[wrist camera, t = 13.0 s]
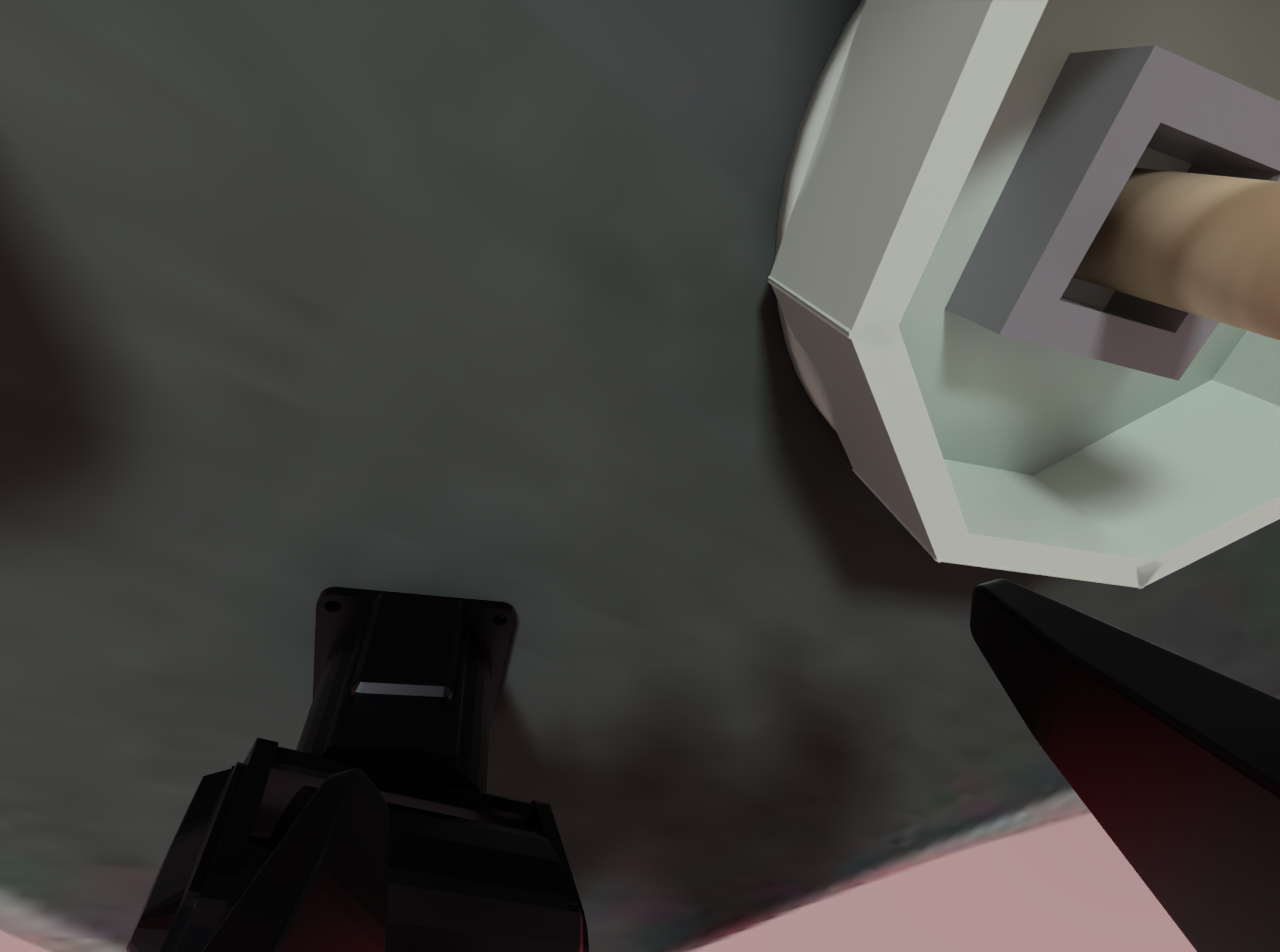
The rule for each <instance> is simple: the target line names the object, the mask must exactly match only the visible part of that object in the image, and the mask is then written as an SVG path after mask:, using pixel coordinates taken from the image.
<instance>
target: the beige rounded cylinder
mask: <svg viewBox="0 0 1280 952" xmlns="http://www.w3.org/2000/svg"><path fill="white" fill-rule="evenodd" d="M1073 278H1076V279H1080V280H1083V281H1086V282H1089V283H1093V284H1096V285H1099V286H1102V287H1106V288H1109V289H1112V290H1116V291H1119V292H1122V293H1125V294H1129V295H1132V296H1135V297H1139V298H1142V299H1145V300H1148V301H1152V302H1155V303H1158V304H1162V305H1165V306H1168V307H1171V308H1175V309H1178V310H1181V311H1184V312H1188V313H1191V314H1194V315H1198V316H1201V317H1204V318H1207V319H1211V320H1214V321H1217V322H1221V323H1224V324H1227V325H1230V326H1234V327H1237V328H1240V329H1243V330H1247V331H1250V332H1253V333H1257V334H1260V335H1263V336H1266V337H1270V338H1273V339H1276V340H1280V182H1279V181H1268V180H1258V179H1248V178H1237V177H1227V176H1217V175H1207V174H1196V173H1186V172H1176V171H1165V170H1155V169H1145V168H1134V170H1133V172H1132V173H1131V175H1130V177H1129V179H1128V181H1127V182H1126V184H1125V186H1124V188H1123V189H1122V191H1121V193H1120V195H1119V196H1118V198H1117V200H1116V202H1115V203H1114V205H1113V207H1112V209H1111V210H1110V212H1109V214H1108V216H1107V217H1106V219H1105V221H1104V223H1103V224H1102V226H1101V228H1100V230H1099V231H1098V233H1097V235H1096V237H1095V238H1094V240H1093V242H1092V244H1091V245H1090V247H1089V249H1088V251H1087V253H1086V254H1085V256H1084V258H1083V260H1082V261H1081V263H1080V265H1079V267H1078V268H1077V270H1076V272H1075V274H1074V275H1073Z"/></svg>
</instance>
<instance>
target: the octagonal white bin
mask: <svg viewBox="0 0 1280 952" xmlns="http://www.w3.org/2000/svg"><path fill="white" fill-rule="evenodd" d="M1134 168H1145V169H1155V170H1165V171H1176V172H1186V173H1196V174H1207V175H1217V176H1227V177H1237V178H1248V179H1258V180H1268V181H1279V182H1280V0H862V1H861V2H860V4H859V5H858V7H857V8H856V10H855V11H854V13H853V15H852V16H851V18H850V19H849V21H848V22H847V24H846V25H845V27H844V29H843V31H842V33H841V35H840V37H839V39H838V41H837V42H836V44H835V46H834V48H833V50H832V52H831V54H830V56H829V58H828V60H827V62H826V64H825V66H824V67H823V69H822V71H821V73H820V75H819V77H818V80H817V82H816V85H815V87H814V90H813V92H812V95H811V97H810V100H809V102H808V105H807V107H806V110H805V113H804V115H803V118H802V120H801V123H800V125H799V128H798V131H797V135H796V138H795V142H794V146H793V149H792V153H791V156H790V160H789V163H788V167H787V171H786V174H785V178H784V184H783V190H782V196H781V202H780V208H779V215H778V221H777V233H776V254H775V262H774V265H773V268H772V271H771V274H770V276H768V282H769V283H770V284H771V286H772V288H773V290H774V292H775V295H776V297H777V303H778V311H779V315H780V320H781V325H782V330H783V334H784V339H785V344H786V346H787V349H788V352H789V355H790V357H791V360H792V363H793V365H794V368H795V371H796V373H797V376H798V378H799V380H800V381H801V383H802V385H803V387H804V389H805V390H806V392H807V394H808V396H809V397H810V399H811V401H812V403H813V404H814V405H815V407H816V408H817V409H818V410H819V412H820V413H821V414H822V415H823V417H824V418H825V419H826V421H827V422H828V423H829V424H830V426H831V427H832V428H833V429H834V430H835V431H836V432H837V434H838V436H839V438H840V440H841V443H842V445H843V447H844V449H845V452H846V454H847V456H848V458H849V461H850V463H851V465H852V467H853V469H852V471H853V472H854V473H855V474H856V475H857V476H858V477H859V478H860V479H861V480H862V481H863V483H864V484H865V485H866V486H867V487H868V488H869V489H870V490H871V491H872V492H873V493H874V495H875V496H876V497H877V498H878V499H879V500H880V501H881V502H882V503H883V504H884V505H885V506H886V508H887V509H888V510H889V511H890V512H891V513H892V514H893V515H894V516H895V517H896V518H897V520H898V521H899V522H900V523H901V524H902V525H903V526H904V527H905V528H906V529H907V530H908V531H909V533H910V534H911V535H912V536H913V537H914V538H915V539H916V540H917V541H918V542H919V543H920V544H921V546H922V547H923V548H924V549H925V550H926V551H927V552H928V553H929V554H930V555H931V556H932V558H933V559H934V560H935V561H937V562H938V563H940V562H946V563H954V564H961V565H969V566H976V567H984V568H992V569H999V570H1007V571H1015V572H1022V573H1030V574H1037V575H1045V576H1053V577H1060V578H1068V579H1075V580H1083V581H1091V582H1098V583H1106V584H1114V585H1121V586H1129V587H1136V588H1138V589H1140V588H1144V586H1146V585H1148V584H1150V583H1152V582H1154V581H1156V580H1158V579H1160V578H1162V577H1164V576H1166V575H1168V574H1170V573H1172V572H1174V571H1176V570H1178V569H1180V568H1182V567H1184V566H1186V565H1188V564H1190V563H1192V562H1194V561H1196V560H1198V559H1200V558H1202V557H1204V556H1206V555H1208V554H1210V553H1212V552H1214V551H1216V550H1218V549H1220V548H1222V547H1224V546H1226V545H1228V544H1230V543H1232V542H1234V541H1236V540H1238V539H1240V538H1242V537H1244V536H1246V535H1248V534H1250V533H1252V532H1254V531H1256V530H1258V529H1260V528H1262V527H1264V526H1266V525H1268V524H1270V523H1272V522H1274V521H1276V520H1278V519H1280V340H1276V339H1273V338H1270V337H1266V336H1263V335H1260V334H1257V333H1253V332H1250V331H1247V330H1243V329H1240V328H1237V327H1234V326H1230V325H1227V324H1224V323H1221V322H1217V321H1214V320H1211V319H1207V318H1204V317H1201V316H1198V315H1194V314H1191V313H1188V312H1184V311H1181V310H1178V309H1175V308H1171V307H1168V306H1165V305H1162V304H1158V303H1155V302H1152V301H1148V300H1145V299H1142V298H1139V297H1135V296H1132V295H1129V294H1125V293H1122V292H1119V291H1116V290H1112V289H1109V288H1106V287H1102V286H1099V285H1096V284H1093V283H1089V282H1086V281H1083V280H1080V279H1076V278H1073V275H1074V274H1075V272H1076V270H1077V268H1078V267H1079V265H1080V263H1081V261H1082V260H1083V258H1084V256H1085V254H1086V253H1087V251H1088V249H1089V247H1090V245H1091V244H1092V242H1093V240H1094V238H1095V237H1096V235H1097V233H1098V231H1099V230H1100V228H1101V226H1102V224H1103V223H1104V221H1105V219H1106V217H1107V216H1108V214H1109V212H1110V210H1111V209H1112V207H1113V205H1114V203H1115V202H1116V200H1117V198H1118V196H1119V195H1120V193H1121V191H1122V189H1123V188H1124V186H1125V184H1126V182H1127V181H1128V179H1129V177H1130V175H1131V173H1132V172H1133V170H1134Z"/></svg>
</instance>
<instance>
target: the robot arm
mask: <svg viewBox="0 0 1280 952" xmlns="http://www.w3.org/2000/svg"><path fill="white" fill-rule="evenodd" d="M329 601H337V602H338V603H339V604H332V603H330V602H329ZM496 615H504V617H502V618H498V617H495V616H496ZM513 623H514V609H513V607H512V606H511V605H509V604H508V603H505V602H498V601H487V600H475V599H464V598H453V597H442V596H431V595H420V594H409V593H397V592H386V591H375V590H364V589H353V588H342V587H330V588H327V589H324V590H323V591H322V592H321V594H320V596H319V599H318V601H317V604H316V627H315V655H314V682H313V702H312V705H311V708H310V711H309V714H308V717H307V720H306V723H305V725H304V728H303V731H302V734H301V737H300V740H299V743H298V746H297V749H296V750H292V749H288V748H283V747H279V746H278V743H279V742H274V741H270V740H265V739H261V738H257V739H256V741H255V743H254V745H253V746H252V748H251V750H250V752H249V754H248V756H247V757H246V759H245V761H244V763H239V762H237V764H236V765H235V766H232V768H231V769H228V770H225V771H221V772H217V773H214V774H210V775H206V776H203V778H202V780H201V782H200V784H199V786H198V788H197V790H196V792H195V794H194V796H193V798H192V801H191V803H190V805H189V807H188V809H187V811H186V813H185V816H184V818H183V820H182V822H181V824H180V826H179V828H178V831H177V833H176V835H175V837H174V839H173V841H172V844H171V846H170V848H169V850H168V852H167V854H166V857H165V859H164V861H163V863H162V866H161V868H160V870H159V872H158V875H157V877H156V879H155V882H154V884H153V886H152V889H151V891H150V893H149V896H148V898H147V900H146V903H145V905H144V907H143V910H142V912H141V914H140V917H139V919H138V921H137V924H136V926H135V928H134V930H133V933H132V935H131V937H130V940H129V942H128V944H127V947H126V950H127V952H589V943H588V931H587V924H586V920H585V915H584V911H583V908H582V905H581V901H580V898H579V895H578V892H577V889H576V886H575V882H574V879H573V876H572V873H571V870H570V867H569V864H568V860H567V857H566V854H565V851H564V848H563V845H562V841H561V838H560V835H559V832H558V829H557V826H556V822H555V819H554V816H553V813H552V810H551V807H550V805H549V804H546V803H542V802H537V801H532V802H531V803H527V802H523V801H518V800H514V799H509V798H505V797H500V796H496V795H491V794H487V793H486V788H487V765H488V742H489V727H490V725H491V721H492V717H493V712H494V708H495V704H496V699H497V695H498V690H499V686H500V681H501V677H502V672H503V668H504V663H505V659H506V655H507V650H508V646H509V641H510V637H511V632H512V628H513ZM970 629H971V633H972V636H973V638H974V640H975V642H976V644H977V646H978V647H979V649H980V650H981V652H982V654H983V655H984V657H985V659H986V660H987V662H988V663H989V665H990V667H991V668H992V670H993V672H994V673H995V675H996V676H997V678H998V680H999V681H1000V683H1001V685H1002V686H1003V688H1004V690H1005V691H1006V693H1007V694H1008V696H1009V698H1010V699H1011V701H1012V703H1013V704H1014V706H1015V707H1016V709H1017V711H1018V712H1019V714H1020V716H1021V717H1022V719H1023V720H1024V722H1025V724H1026V725H1027V727H1028V728H1029V730H1030V731H1031V733H1032V734H1033V736H1034V737H1035V739H1036V740H1037V742H1038V743H1039V744H1040V746H1041V747H1042V748H1043V750H1044V751H1045V753H1046V754H1047V755H1048V756H1049V758H1050V759H1051V760H1052V762H1053V763H1054V764H1055V766H1056V767H1057V768H1058V770H1059V771H1060V772H1061V774H1062V775H1063V776H1064V777H1065V779H1066V780H1067V781H1068V783H1069V784H1070V785H1071V787H1072V788H1073V789H1074V791H1075V792H1076V793H1077V795H1078V796H1079V797H1080V798H1081V800H1082V801H1083V802H1084V804H1085V805H1086V806H1087V808H1088V809H1089V810H1090V812H1091V813H1092V814H1093V815H1094V817H1095V818H1096V819H1097V821H1098V822H1099V823H1100V825H1101V826H1102V827H1103V829H1104V830H1105V831H1106V833H1107V834H1108V835H1109V837H1110V838H1111V839H1112V840H1113V842H1114V843H1115V844H1116V846H1117V847H1118V848H1119V850H1120V851H1121V852H1122V854H1123V855H1124V856H1125V858H1126V859H1127V860H1128V861H1129V863H1130V864H1131V865H1132V867H1133V868H1134V869H1135V871H1136V872H1137V873H1138V875H1139V876H1140V877H1141V879H1142V880H1143V881H1144V882H1145V884H1146V885H1147V886H1148V888H1149V889H1150V890H1151V892H1152V893H1153V894H1154V896H1155V897H1156V898H1157V899H1158V901H1159V902H1160V903H1161V905H1162V906H1163V907H1164V909H1165V910H1166V911H1167V913H1168V914H1169V915H1170V917H1171V918H1172V919H1173V921H1174V922H1175V923H1176V924H1177V926H1178V927H1179V928H1180V930H1181V931H1182V932H1183V934H1184V935H1185V936H1186V938H1187V939H1188V940H1189V942H1190V943H1191V944H1192V945H1193V947H1194V948H1195V949H1196V951H1197V952H1280V699H1279V698H1276V697H1274V696H1272V695H1270V694H1267V693H1265V692H1263V691H1261V690H1258V689H1256V688H1254V687H1251V686H1249V685H1247V684H1245V683H1242V682H1240V681H1238V680H1235V679H1233V678H1231V677H1229V676H1226V675H1224V674H1222V673H1220V672H1217V671H1215V670H1213V669H1210V668H1208V667H1206V666H1204V665H1201V664H1199V663H1197V662H1194V661H1192V660H1190V659H1188V658H1185V657H1183V656H1181V655H1179V654H1176V653H1174V652H1172V651H1169V650H1167V649H1165V648H1163V647H1160V646H1158V645H1156V644H1153V643H1151V642H1149V641H1147V640H1144V639H1142V638H1140V637H1138V636H1135V635H1133V634H1131V633H1128V632H1126V631H1124V630H1122V629H1119V628H1117V627H1115V626H1112V625H1110V624H1108V623H1106V622H1103V621H1101V620H1099V619H1097V618H1094V617H1092V616H1090V615H1087V614H1085V613H1083V612H1081V611H1078V610H1076V609H1074V608H1071V607H1069V606H1067V605H1065V604H1062V603H1060V602H1058V601H1056V600H1053V599H1051V598H1049V597H1046V596H1044V595H1042V594H1040V593H1037V592H1035V591H1033V590H1030V589H1028V588H1026V587H1024V586H1021V585H1019V584H1017V583H1015V582H1012V581H1010V580H1007V579H996V580H992V581H989V582H986V583H982V584H979V585H977V586H976V587H975V588H974V590H973V593H972V604H971V617H970Z"/></svg>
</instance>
